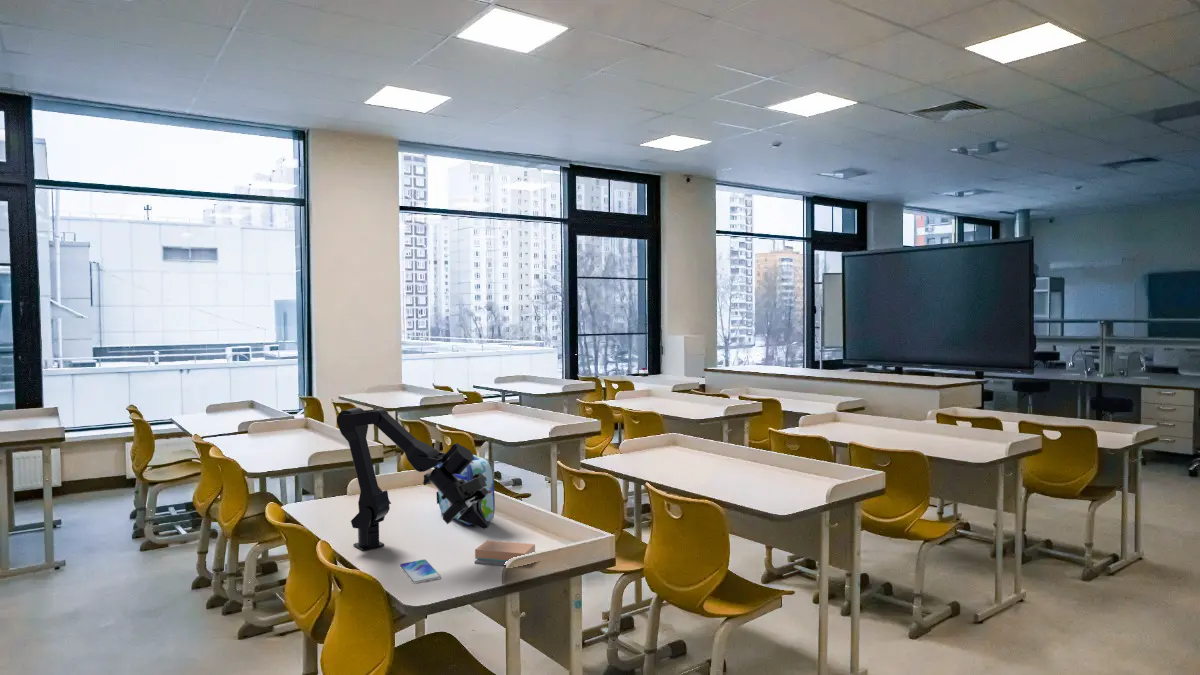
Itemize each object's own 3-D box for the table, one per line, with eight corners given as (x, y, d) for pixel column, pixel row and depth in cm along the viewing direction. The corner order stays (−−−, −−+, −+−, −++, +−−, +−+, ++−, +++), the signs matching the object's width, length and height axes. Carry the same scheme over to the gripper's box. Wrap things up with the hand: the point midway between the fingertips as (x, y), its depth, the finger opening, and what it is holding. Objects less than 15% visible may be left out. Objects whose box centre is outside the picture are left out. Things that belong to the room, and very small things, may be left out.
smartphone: (413, 582, 180) (398, 564, 193) (413, 586, 180) (398, 567, 193) (442, 576, 184) (425, 558, 197) (442, 579, 184) (425, 562, 197)
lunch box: (433, 511, 245) (432, 449, 244) (463, 506, 251) (462, 445, 250) (466, 531, 223) (465, 462, 222) (498, 524, 229) (497, 458, 228)
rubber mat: (474, 563, 195) (474, 561, 195) (492, 548, 206) (492, 547, 206) (510, 566, 192) (510, 564, 192) (526, 551, 204) (526, 549, 204)
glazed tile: (475, 549, 197) (524, 553, 193) (487, 540, 204) (535, 544, 201) (475, 558, 197) (524, 563, 193) (487, 549, 204) (535, 553, 201)
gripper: (452, 473, 191) (492, 517, 189) (481, 458, 210) (519, 499, 207) (425, 501, 194) (465, 546, 191) (456, 485, 212) (493, 525, 209)
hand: (487, 527), depth 200 cm, fingers closed
